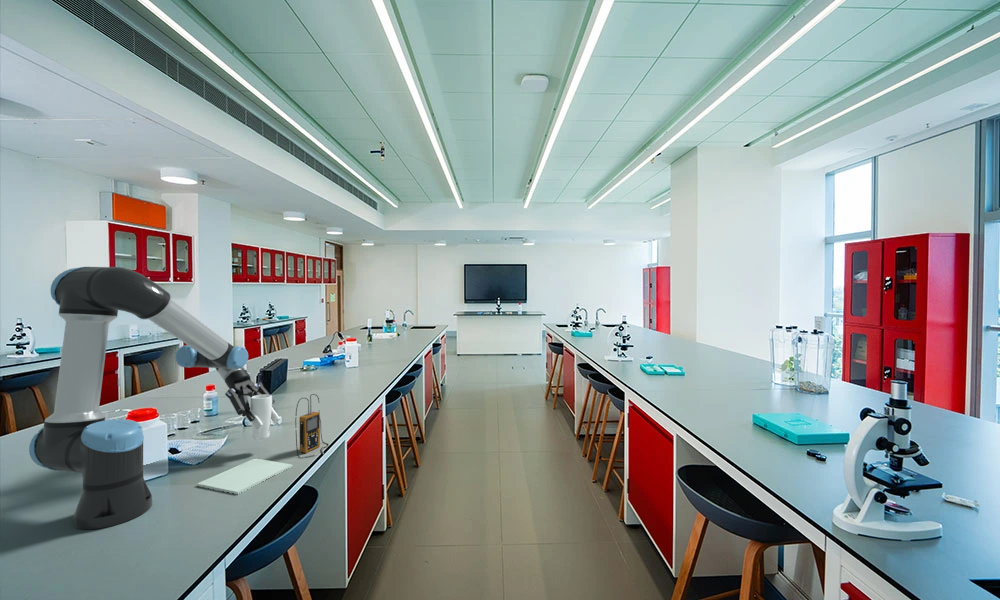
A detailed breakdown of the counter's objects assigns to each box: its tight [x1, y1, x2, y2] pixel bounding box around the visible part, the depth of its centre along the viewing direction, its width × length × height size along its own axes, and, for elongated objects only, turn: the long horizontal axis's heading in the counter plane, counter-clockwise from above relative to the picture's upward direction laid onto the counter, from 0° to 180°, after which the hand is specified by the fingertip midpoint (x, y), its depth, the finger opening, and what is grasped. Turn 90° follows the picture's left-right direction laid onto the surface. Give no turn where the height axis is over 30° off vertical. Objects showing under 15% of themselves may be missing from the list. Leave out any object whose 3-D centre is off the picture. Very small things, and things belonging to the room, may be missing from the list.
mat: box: [196, 458, 293, 495], centre depth 133 cm, size 20×16×1 cm
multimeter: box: [295, 393, 329, 459], centre depth 154 cm, size 15×10×20 cm
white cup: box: [249, 394, 273, 441], centre depth 152 cm, size 7×7×15 cm
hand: (268, 423), depth 151 cm, fingers closed on white cup, 7 cm apart
